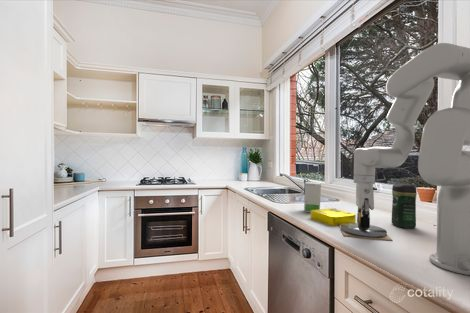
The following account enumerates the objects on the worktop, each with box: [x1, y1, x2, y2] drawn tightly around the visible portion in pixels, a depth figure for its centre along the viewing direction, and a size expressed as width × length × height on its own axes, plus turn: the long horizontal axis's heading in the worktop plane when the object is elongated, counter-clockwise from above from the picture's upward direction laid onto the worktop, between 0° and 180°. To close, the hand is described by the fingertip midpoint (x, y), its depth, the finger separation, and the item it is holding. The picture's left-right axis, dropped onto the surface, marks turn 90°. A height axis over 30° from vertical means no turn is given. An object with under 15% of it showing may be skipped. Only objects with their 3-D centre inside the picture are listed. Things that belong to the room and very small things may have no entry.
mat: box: [338, 224, 393, 242], centre depth 100 cm, size 16×16×1 cm
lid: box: [340, 211, 388, 238], centre depth 100 cm, size 16×16×7 cm
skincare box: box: [303, 181, 322, 213], centre depth 137 cm, size 8×7×16 cm
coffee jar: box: [391, 182, 418, 229], centre depth 110 cm, size 10×8×19 cm
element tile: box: [310, 207, 357, 227], centre depth 118 cm, size 15×15×5 cm
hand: (363, 224), depth 100 cm, fingers open, 5 cm apart
